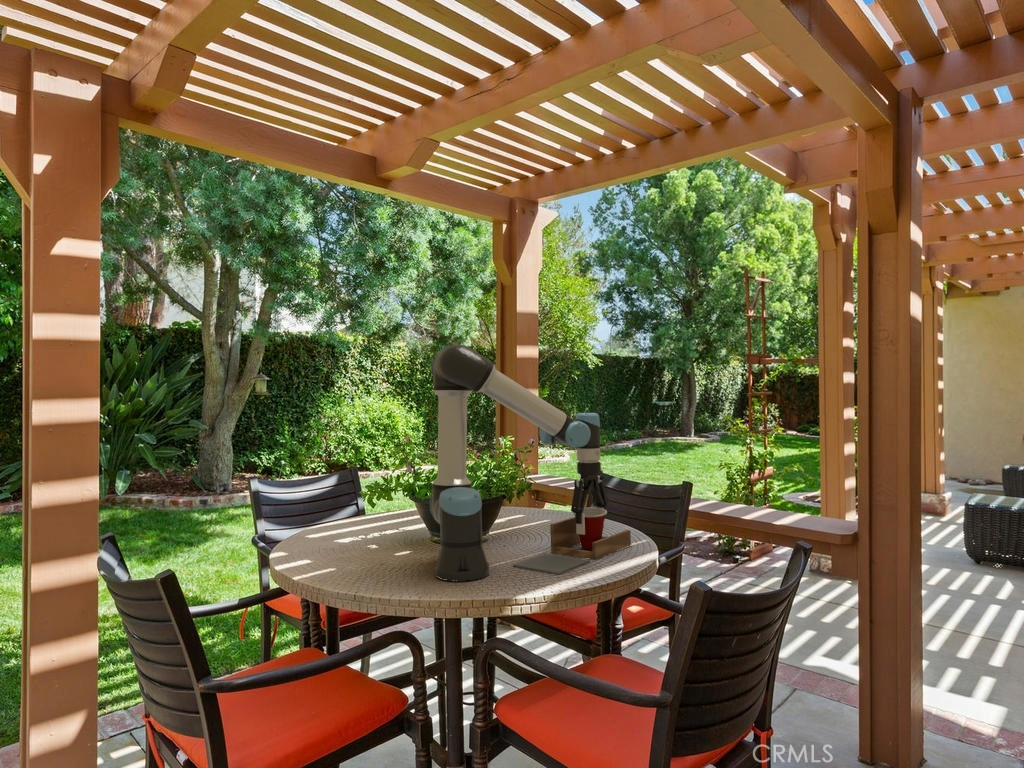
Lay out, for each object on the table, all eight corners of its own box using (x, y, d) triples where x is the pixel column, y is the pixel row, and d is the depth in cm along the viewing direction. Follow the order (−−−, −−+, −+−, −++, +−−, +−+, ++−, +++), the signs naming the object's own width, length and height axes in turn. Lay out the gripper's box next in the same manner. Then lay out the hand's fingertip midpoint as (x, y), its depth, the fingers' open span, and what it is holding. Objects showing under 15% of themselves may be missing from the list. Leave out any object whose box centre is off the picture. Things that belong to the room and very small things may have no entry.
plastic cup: (572, 551, 203) (571, 513, 203) (575, 544, 214) (574, 507, 214) (607, 552, 201) (606, 513, 201) (608, 544, 212) (607, 507, 212)
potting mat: (513, 566, 189) (513, 564, 189) (545, 555, 201) (545, 553, 201) (558, 575, 179) (558, 572, 179) (589, 562, 192) (589, 560, 192)
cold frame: (551, 552, 204) (550, 524, 204) (587, 539, 221) (586, 513, 221) (596, 560, 194) (595, 529, 194) (630, 545, 211) (630, 517, 211)
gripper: (578, 465, 197) (580, 538, 196) (617, 458, 215) (618, 525, 214) (558, 464, 201) (559, 536, 201) (597, 457, 219) (599, 523, 219)
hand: (590, 530), depth 207 cm, fingers closed on plastic cup, 11 cm apart
